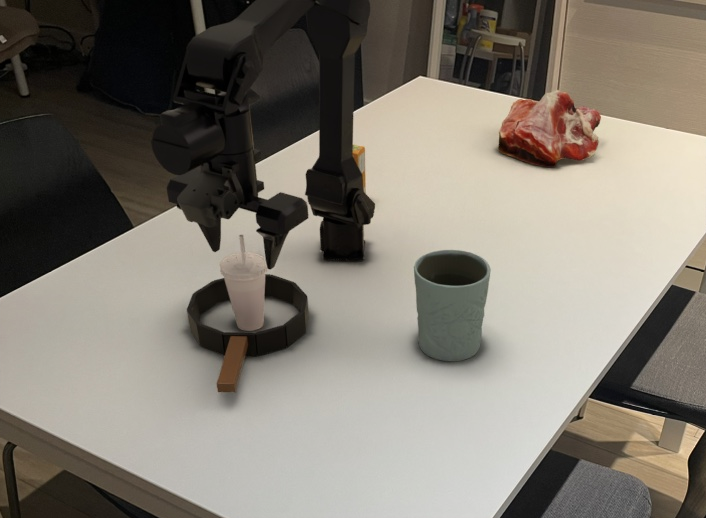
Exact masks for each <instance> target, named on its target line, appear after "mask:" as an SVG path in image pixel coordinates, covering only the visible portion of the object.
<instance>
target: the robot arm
mask: <svg viewBox="0 0 706 518" xmlns="http://www.w3.org/2000/svg"><path fill="white" fill-rule="evenodd" d="M303 16H305V17H306V18H305V19H306V26H307V32H308V34H309V36H310V38H311V41H312V42H313V45H314V46H315V48H316V50H317V52H318V67H319V68H318V93H319V94H318V112H319V113H318V114H319V115H318V117H319V118H318V119H319V120H318V135H319V137H318V138H319V139H318V143H319V144H318V145H319V146H318V147H319V148H318V157H317V159H316V161H315V162H314V164H313V165H312V167H311V168H308V169H306V172H305V192H304V196H306V198H307V201H305V199H304V198H302V197H300V196H295V195H292V194H288V193H285V192H278V193H276V194H274V195H273V196H271V197H270V198H268V199H267V198H263V197H259V193H260V192H262V191H264V190H265V183H264V181H262V180H258V176H257V165H256V162H257V161H260V160H262V151H261V150H260V149H256V148H255V145H254V136H253V127H252V125H253V124H252V117H251V116H252V115H251V107H250V106H251V105H253V104H255V103H257V102H259V101H260V100H261V95H260V94H259V93H258V92H256V91H255V90H253V89H252V88H251V87H252V86H253V85H254V83H255V82H256V80H257V79H258V77H259V76H260V74H261V73H262V71H263V70H264V69H263V68H264V67H263V66H264V56H265V55H266V54H267V52H268V51H269V50H271V48H272V47H273V46H274V45H275V44H276V43H277V42H278V41H279V40H280V39H281V38H282V37H283V36H284V35H285V34H286V33H287V32H289V30H290V29H291V28H292V27H293V26H295V24H296V23H297V22H298V21H299V20H300V19H301V18H303ZM370 16H371V3H370V0H254V1H253V2H252V3H251V4H250V5H249V6H248V7H246V8H245V10H244V11H242V12H241V13H240V14H239V15H238V16H237V17H236V18H234V19H233V20H231V21H228V22H225V23H221V24H217V25H213V26H210V27H208V28H207V29H205V30H203V31H202V32H199V33H198V34H196V35H194V36H193V37H192V38H191V40H190V41H189V42H188V44H187V46H186V51H185V55H184V57H183V61H182V64H181V68H180V72H179V76H178V78H177V83H176V85H175V89H174V93H173V97H172V101H173V102H174V103H175V104H179V105H182V106H179V107H177V108H175V109H171V110H170V109H169V110H166V111H163V112H161V113H160V115H159V116H160V123H161V124H160V125H158V126H157V127H155V129H154V130H153V133H152V138H151V140H150V144H151V145H150V146H151V149H152V152H153V155H154V157H155V159H156V161H157V162H158V163H159V165H160V166H161V168H163V169H164V170H165V171H167V172H168V173H170V174H172V175H174V177H172V178H171V179H169V181H168V184H167V185H166V194H167V198H168V203H171V204H175V205H176V208H177V209H178V210H179V211H180V210H181V211H182V213H183V215H184V218H185V219H186V221H187V222H190V223H196V224H197V226H198V227H199V229H200V231H201V232H202V234H203V236H204V238H205V239H206V242H207V244H208V246H209V247H210V250H211V251H212V253H213V252H214V253H217V252H218V251H220V249H221V240H222V219H224V220H230V219H231V218H232V217H233V215H235V213H236V212H237V211H238V209H242V210H245V211H247V212H251V213H255V222H256V224H257V225H258V226H259V227H258V228H256V230H255V232H256V233H257V234H259V235H260V236H261V238H262V241H263V248H264V258H265V260H266V264H267V268H268V270H272V269H274V268H275V267H276V264H277V261H278V259H279V256H280V254H281V252H282V248H283V246H284V244H285V241H286V239H287V237H288V235H289V233H290V231H292V230H293V229H295V228H296V227H298V226H299V225H301V224H302V223H304V222H305V221H307V220H308V219H309V207H310V209H311V212H312V216H315V217H320V218H322V220H321V221H320V224H319V240H320V241H319V243H320V245H319V247H320V251H321V252H322V259H323V260H324V261H345V262H346V261H349V262H351V261H352V262H363V261H364V260H365V249H366V240H365V226H367V225H370V224H371V222H372V219H373V217H374V215H375V209H376V203H375V202H374V200H372V198H370V197H369V196H368V194H367V193H366V194H365V192H364V189H363V176H362V173H361V171H360V169H359V167H358V165H357V163H356V162H355V160H354V158H353V145H354V111H355V110H354V106H355V105H354V104H355V64H356V63H355V60H356V53H357V51H358V50H359V48H360V46H361V44H362V43H363V41H364V39H365V38H366V37H367V34H368V24H369V18H370ZM197 86H198V87H200V88H204V89H209V90H213V91H218V92H220V93H217V94H216V93H213V92H207V91H203V90H199V89H196V88H197ZM198 167H200V169H197V168H198ZM307 202H308V203H307ZM308 205H309V206H308Z"/></svg>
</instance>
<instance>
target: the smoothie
mask: <svg viewBox="0 0 706 518" xmlns="http://www.w3.org/2000/svg"><path fill="white" fill-rule="evenodd" d="M238 238H239V245H240V252H237V253H232V254H230V255H227V256H225V257H223V258H222V260H221V261H220V262H219V272H220V275H221V276H222V278H224V279H225V283H226V286H227V290H228V294H229V297H230V300H229V301H230V303H231V308H232V311H233V316H234V319H235V322H236V325H237V328H238V329H239V330H241V331H245V332H253V331H257V330H259V329H261V328H263V327H264V322H265V297H266V296H265V274H267V272H268V270H269V269H268V268H267V264H266V260H265V256H262V255H261V254H258V253H256V252H246V246H245V245H246V244H245V237H244V234H239V235H238Z"/></svg>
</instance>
